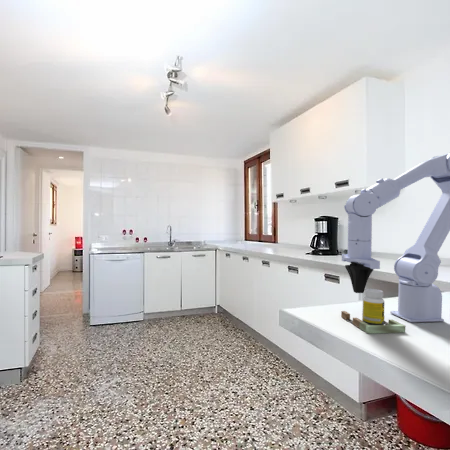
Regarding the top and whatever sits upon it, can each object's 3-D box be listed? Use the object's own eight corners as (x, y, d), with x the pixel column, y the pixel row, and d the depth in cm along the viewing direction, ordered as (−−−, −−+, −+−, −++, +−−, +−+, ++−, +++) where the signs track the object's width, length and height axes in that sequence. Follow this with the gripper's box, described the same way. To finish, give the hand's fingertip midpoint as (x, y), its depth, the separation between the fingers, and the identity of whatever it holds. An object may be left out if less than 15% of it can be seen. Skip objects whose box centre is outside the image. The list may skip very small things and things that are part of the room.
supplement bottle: (386, 329, 73) (387, 293, 73) (364, 327, 74) (365, 291, 74) (380, 322, 78) (381, 288, 78) (360, 321, 79) (361, 287, 79)
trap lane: (373, 316, 83) (373, 310, 83) (405, 332, 71) (405, 325, 71) (341, 316, 82) (341, 311, 82) (368, 333, 70) (368, 326, 70)
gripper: (331, 238, 89) (331, 286, 89) (360, 242, 74) (359, 299, 75) (355, 238, 90) (354, 286, 90) (388, 242, 75) (387, 299, 76)
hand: (358, 292), depth 82 cm, fingers closed
